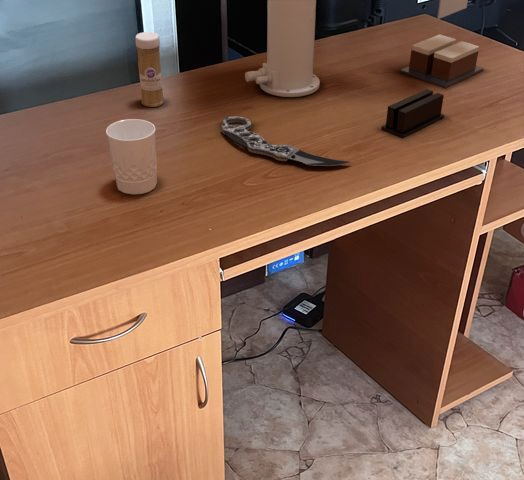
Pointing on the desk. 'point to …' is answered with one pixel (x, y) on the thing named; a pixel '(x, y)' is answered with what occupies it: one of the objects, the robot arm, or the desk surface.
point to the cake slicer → (450, 7)
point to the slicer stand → (414, 113)
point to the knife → (270, 145)
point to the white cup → (133, 155)
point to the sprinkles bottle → (150, 68)
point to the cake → (442, 61)
